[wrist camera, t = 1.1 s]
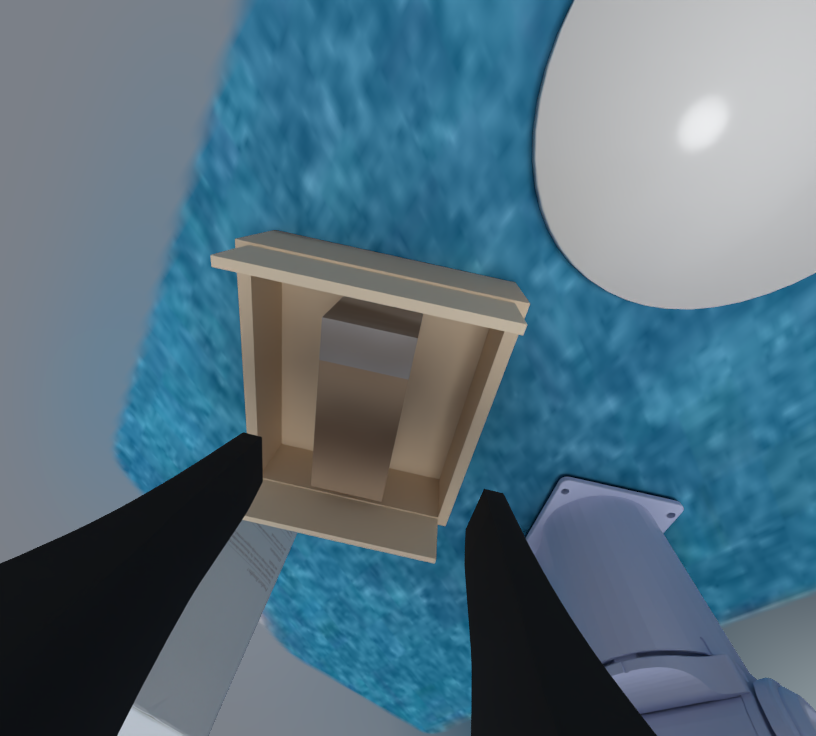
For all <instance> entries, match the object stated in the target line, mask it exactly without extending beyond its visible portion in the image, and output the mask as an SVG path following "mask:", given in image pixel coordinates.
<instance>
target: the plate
mask: <svg viewBox="0 0 816 736" xmlns="http://www.w3.org/2000/svg"><path fill="white" fill-rule="evenodd" d="M532 165H533V175H534V186H535V190H536V195H537V199H538V203H539V208H540V211H541V214H542V216H543V219H544V221H545V224H546V227H547V229H548V231H549V233H550V235H551V236H552V238H553V240H554V242H555V244H556V245H557V247H558V249H559V250H560V251H561V252H562V254H563V255H564V256H565V257H566V259H567V260H568V261H569V262H570V264H571V265H573V266H574V267H575V268H576V269H577V270H578V271H579V272H580V273H581V274H582V275H583V276H585V277H586V278H588V279H589V280H591V281H592V282H594V283H595V284H597V285H598V286H600V287H601V288H603V289H604V290H606V291H608V292H610V293H612V294H614V295H616V296H619V297H621V298H623V299H625V300H628V301H632V302H635V303H639V304H642V305H646V306H652V307H659V308H666V309H699V308H710V307H717V306H722V305H728V304H733V303H738V302H742V301H745V300H749V299H752V298H755V297H759V296H762V295H766V294H768V293H771V292H773V291H776V290H778V289H781V288H783V287H786V286H789V285H791V284H794V283H796V282H798V281H800V280H802V279H804V278H806V277H808V276H810V275H812V274H814V273H816V0H573V2H572V4H571V6H570V8H569V10H568V12H567V15H566V17H565V19H564V21H563V23H562V26H561V28H560V30H559V32H558V34H557V37H556V39H555V42H554V45H553V48H552V51H551V54H550V57H549V59H548V62H547V65H546V68H545V71H544V75H543V79H542V84H541V88H540V92H539V96H538V100H537V106H536V113H535V120H534V127H533V145H532Z"/></svg>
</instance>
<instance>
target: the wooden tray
mask: <svg viewBox="0 0 816 736" xmlns="http://www.w3.org/2000/svg"><path fill="white" fill-rule="evenodd" d="M235 247H236V248H235V249H231V250H228V251H224V252H220V253H216V254H213V255H211V265H212V267H215V268H219V269H224V270H228V271H233V272H237V279H238V296H239V312H240V328H241V344H242V361H243V377H244V393H245V409H246V426H247V433H248V434H252V435H256V436H260V437H262V460H263V482H262V484H261V486H260V488H259V490H258V492H257V494H256V496H255V498H254V500H253V502H252V504H251V506H250V508H249V510H248V512H247V513H246V515H245V516H244V518H243V519H242V520H246V521H250V522H254V523H259V524H263V525H267V526H272V527H276V528H281V529H285V530H289V531H294V532H298V533H303V534H307V535H311V536H316V537H320V538H324V539H329V540H333V541H338V542H342V543H346V544H351V545H355V546H360V547H364V548H368V549H373V550H377V551H382V552H386V553H390V554H395V555H399V556H403V557H408V558H412V559H417V560H421V561H425V562H430V563H435V561H436V548H437V524H438V525H442V526H446V523H447V521H448V518H449V516H450V513H451V510H452V508H453V505H454V502H455V500H456V497H457V495H458V492H459V489H460V487H461V484H462V481H463V479H464V476H465V474H466V471H467V468H468V466H469V463H470V460H471V458H472V455H473V453H474V450H475V447H476V445H477V442H478V439H479V437H480V434H481V432H482V429H483V426H484V424H485V421H486V418H487V416H488V413H489V411H490V408H491V405H492V403H493V400H494V397H495V395H496V392H497V390H498V387H499V384H500V382H501V379H502V376H503V374H504V371H505V369H506V366H507V363H508V361H509V358H510V355H511V353H512V350H513V348H514V345H515V342H516V340H517V337H518V334H519V335H523V334H524V332H525V329H526V327H527V323H526V322H525V320H524V319H525V316H526V313H527V311H528V308H529V306H530V303H529V301H528V300H527V298H526V297H525V296H524V294H523V293H522V291H521V290H520V288H519V287H518V286H517V284H516V283H515V282H511V281H506V280H501V279H497V278H492V277H488V276H483V275H479V274H474V273H469V272H465V271H460V270H456V269H451V268H447V267H442V266H437V265H433V264H428V263H424V262H419V261H415V260H410V259H405V258H401V257H396V256H392V255H387V254H383V253H378V252H373V251H369V250H364V249H360V248H355V247H351V246H346V245H341V244H337V243H332V242H328V241H323V240H319V239H314V238H309V237H305V236H300V235H296V234H291V233H287V232H282V231H277V230H273V231H268V232H264V233H259V234H255V235H250V236H246V237H241V238H237V239H235ZM343 296H346V297H351V298H355V299H360V300H365V301H369V302H374V303H378V304H383V305H387V306H392V307H396V308H401V309H405V310H410V311H414V312H419V313H423V318H422V322H421V327H420V331H419V336H418V340H417V345H416V349H415V354H414V358H413V363H412V367H411V372H410V376H409V381H408V385H407V390H406V394H405V399H404V403H403V408H402V412H401V417H400V421H399V426H398V430H397V435H396V439H395V444H394V448H393V453H392V457H391V462H390V466H389V471H388V475H387V480H386V484H385V489H384V493H383V498H382V502H380V501H376V500H372V499H367V498H363V497H358V496H354V495H349V494H345V493H341V492H336V491H332V490H327V489H323V488H319V487H314V486H311V477H312V462H313V446H314V431H315V416H316V401H317V386H318V371H319V355H320V340H321V325H322V317H323V316H324V315H325V314H326V313H327V312H328V311H329V310H330V309H331V308H332V307H333V306H334V305H335V304H336V303H337V302H338V301H339V300H340V299H341V298H342V297H343Z"/></svg>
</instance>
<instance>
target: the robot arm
mask: <svg viewBox="0 0 816 736" xmlns="http://www.w3.org/2000/svg"><path fill="white" fill-rule="evenodd" d="M262 482H263V460H262V437H260V436H256V435H252V434H248V433H242V434H240V435H238V436H237V437H235V438H234V439H232V440H231V441H229V442H228V443H226V444H225V445H223V446H222V447H220V448H219V449H217V450H215V451H214V452H212V453H211V454H209V455H208V456H206V457H205V458H203V459H202V460H200V461H199V462H197V463H195V464H194V465H192V466H191V467H189V468H187V469H186V470H184V471H183V472H181V473H179V474H178V475H176V476H175V477H173V478H171V479H170V480H168V481H166V482H165V483H163V484H161V485H159V486H158V487H156V488H154V489H152V490H151V491H149V492H147V493H146V494H144V495H142V496H140V497H139V498H137V499H135V500H133V501H132V502H130V503H128V504H126V505H124V506H122V507H121V508H119V509H117V510H115V511H113V512H111V513H109V514H107V515H105V516H103V517H101V518H99V519H98V520H95V521H94V522H91V523H90V524H87V525H85V526H83V527H81V528H79V529H77V530H75V531H73V532H71V533H68V534H66V535H64V536H62V537H60V538H57V539H55V540H53V541H51V542H49V543H46V544H44V545H42V546H40V547H37V548H35V549H33V550H31V551H29V552H27V553H24V554H22V555H20V556H17V557H15V558H12V559H10V560H8V561H5V562H3V563H1V564H0V736H117V735H118V733H119V731H120V729H121V727H122V725H123V723H124V721H125V719H126V717H127V715H128V714H129V712H130V710H131V708H132V706H133V704H134V702H135V700H136V698H137V696H138V694H139V692H140V690H141V688H142V686H143V684H144V682H145V680H146V679H147V677H148V675H149V673H150V671H151V669H152V667H153V665H154V664H155V662H156V660H157V658H158V656H159V654H160V652H161V651H162V649H163V647H164V645H165V643H166V641H167V639H168V638H169V636H170V634H171V632H172V630H173V629H174V627H175V625H176V623H177V621H178V620H179V618H180V616H181V614H182V612H183V611H184V609H185V607H186V605H187V603H188V602H189V600H190V598H191V597H192V595H193V594H194V592H195V590H196V589H197V587H198V586H199V584H200V582H201V581H202V579H203V578H204V576H205V575H206V573H207V572H208V570H209V569H210V567H211V566H212V564H213V563H214V561H215V560H216V558H217V557H218V556H219V554H220V553H221V551H222V550H223V548H224V547H225V545H226V544H227V542H228V541H229V539H230V538H231V536H232V535H233V533H234V532H235V530H236V529H237V527H238V526H239V524H240V523H241V521H242V519H243V518H244V516H245V515H246V513H247V512H248V510H249V508H250V506H251V504H252V502H253V500H254V498H255V496H256V494H257V492H258V490H259V488H260V486H261V484H262ZM562 489H564V490H562ZM683 510H684V507H683V506H682V505H681V503H680V502H678V501H675V500H671V499H666V498H662V497H657V496H653V495H649V494H644V493H640V492H635V491H631V490H626V489H622V488H617V487H613V486H608V485H604V484H599V483H595V482H591V481H586V480H582V479H577V478H573V477H563V478H561V479H560V480H559V481H558V483H557V485H556V487H555V488H554V490H553V492H552V494H551V495H550V497H549V499H548V500H547V502H546V504H545V506H544V507H543V509H542V511H541V512H540V514H539V516H538V518H537V519H536V521H535V523H534V525H533V526H532V528H531V530H530V531H529V533H528V535H527V537H526V538H525V536H524V534H523V532H522V530H521V528H520V526H519V524H518V522H517V520H516V518H515V516H514V514H513V512H512V510H511V508H510V506H509V504H508V502H507V500H506V498H505V496H504V494H503V493H499V492H495V491H491V490H486V489H484V490H483V493H482V495H481V497H480V499H479V501H478V504H477V506H476V508H475V510H474V512H473V515H472V517H471V519H470V521H469V523H468V526H467V528H466V536H465V577H466V590H467V604H468V617H469V630H470V643H471V662H472V714H471V736H816V711H815V710H814V709H813V708H812V707H811V706H810V705H809V704H808V703H807V702H806V701H805V700H804V699H803V698H802V697H801V696H799V695H798V694H795V693H794V692H792V691H790V690H788V689H787V688H785V687H782V686H781V685H780V684H779V683H777V682H776V681H775V680H773V679H771V678H763V679H759V680H757V679H756V678H755V677H753V676H752V675H751V674H750V673H749V671H748V670H747V668H746V666H745V665H744V663H743V662H742V660H741V658H740V657H739V655H738V654H737V652H736V650H735V649H734V647H733V645H732V644H731V642H730V641H729V639H728V637H727V636H726V634H725V632H724V631H723V629H722V628H721V626H720V624H719V623H718V621H717V620H716V618H715V616H714V615H713V613H712V612H711V610H710V608H709V607H708V605H707V603H706V602H705V600H704V599H703V597H702V595H701V594H700V592H699V591H698V589H697V587H696V586H695V584H694V582H693V581H692V579H691V578H690V576H689V574H688V573H687V571H686V570H685V568H684V566H683V565H682V563H681V562H680V560H679V558H678V557H677V555H676V553H675V552H674V550H673V549H672V547H671V545H670V544H669V542H668V541H667V539H666V537H665V536H664V534H663V533H664V532H665V531H666V530H667V529H668V527H669V526H670V525H671V524H672V523H673V522H674V521H675V520H676V518H677V517H678V516H679V515H680V514H681V513H682V512H683Z"/></svg>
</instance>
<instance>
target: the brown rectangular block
mask: <svg viewBox="0 0 816 736" xmlns="http://www.w3.org/2000/svg"><path fill="white" fill-rule="evenodd" d="M422 318H423V313H419V312H414V311H410V310H405V309H401V308H396V307H392V306H387V305H383V304H378V303H374V302H369V301H365V300H360V299H355V298H351V297H346V296H343V297H342V298H341V299H340V300H339V301H338V302H337V303H336V304H335V305H334V306H333V307H332V308H331V309H330V310H329V311H328V312H327V313H326V314H325V315H324V316H323V317H322V325H321V340H320V355H319V371H318V386H317V401H316V416H315V431H314V446H313V462H312V477H311V486H314V487H319V488H323V489H327V490H332V491H336V492H341V493H345V494H349V495H354V496H358V497H363V498H367V499H372V500H376V501H380V502H382V498H383V493H384V489H385V484H386V480H387V475H388V471H389V466H390V462H391V457H392V453H393V448H394V444H395V439H396V435H397V430H398V426H399V421H400V417H401V412H402V408H403V403H404V399H405V394H406V390H407V385H408V381H409V376H410V372H411V367H412V363H413V358H414V354H415V349H416V345H417V340H418V336H419V331H420V327H421V322H422Z"/></svg>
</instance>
